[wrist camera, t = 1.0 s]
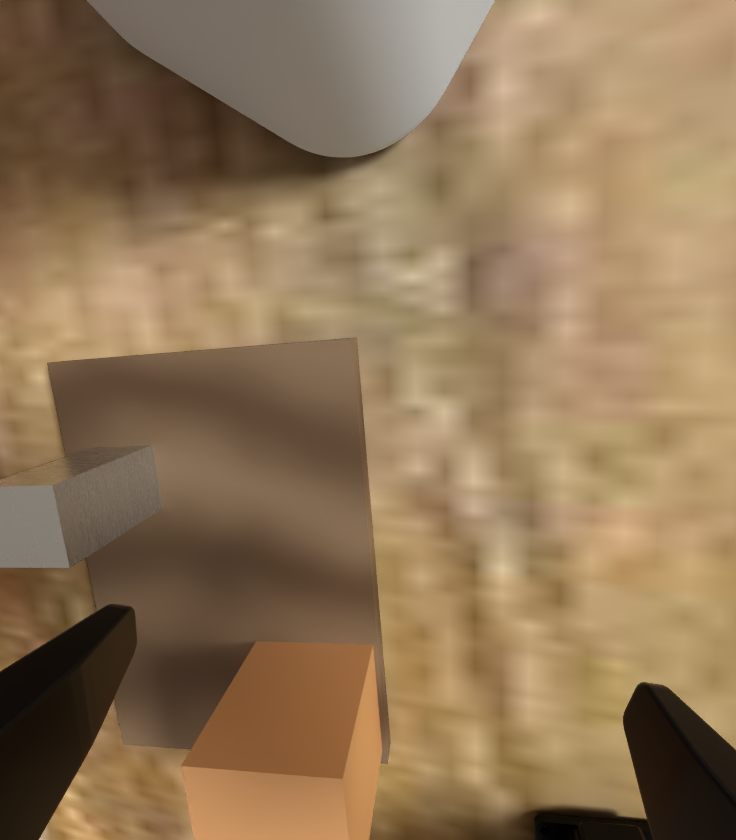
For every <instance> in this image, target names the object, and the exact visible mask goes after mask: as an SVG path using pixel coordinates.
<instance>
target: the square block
mask: <svg viewBox="0 0 736 840" xmlns="http://www.w3.org/2000/svg"><path fill="white" fill-rule="evenodd" d="M381 757H382V741H381V730H380V718H379V707H378V695H377V684H376V672H375V661H374V649H373V645H360V644H328V643H295V642H263V641H256V642H255V644H254V646H253V647H252V649H251V651H250V652H249V654H248V656H247V657H246V659H245V661H244V662H243V664H242V666H241V667H240V669H239V671H238V672H237V674H236V676H235V677H234V679H233V681H232V682H231V684H230V686H229V687H228V689H227V691H226V692H225V694H224V696H223V697H222V699H221V701H220V702H219V704H218V706H217V707H216V709H215V711H214V712H213V714H212V716H211V717H210V719H209V720H208V722H207V724H206V725H205V727H204V729H203V730H202V732H201V734H200V735H199V737H198V739H197V740H196V742H195V744H194V745H193V747H192V749H191V750H190V752H189V754H188V755H187V757H186V759H185V760H184V762H183V764H182V765H181V769H182V774H183V780H184V786H185V791H186V797H187V803H188V808H189V814H190V820H191V825H192V831H193V837H194V840H369V837H370V831H371V824H372V817H373V810H374V804H375V797H376V790H377V784H378V777H379V770H380V763H381Z"/></svg>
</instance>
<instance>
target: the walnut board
mask: <svg viewBox="0 0 736 840" xmlns="http://www.w3.org/2000/svg"><path fill="white" fill-rule="evenodd" d="M47 365H48V370H49V375H50V380H51V385H52V390H53V395H54V400H55V405H56V410H57V415H58V420H59V425H60V430H61V435H62V440H63V445H64V450H65V455H66V457H67V456H70V455H73V454H76V453H79V452H82V451H85V450H87V449H90V448H96V447H119V446H141V445H152V448H153V454H154V460H155V466H156V472H157V478H158V484H159V490H160V496H161V502H162V509H161V510H159V511H158V512H156V513H154V514H153V515H151V516H150V517H148V518H147V519H145V520H144V521H142V522H140V523H139V524H137V525H136V526H134V527H133V528H131V529H129V530H128V531H126V532H125V533H123V534H122V535H120V536H119V537H117V538H115V539H114V540H112V541H111V542H109V543H108V544H106V545H105V546H103V547H101V548H100V549H98V550H97V551H95V552H94V553H92V554H90V555H89V556H87V557H86V560H87V565H88V570H89V575H90V580H91V585H92V590H93V595H94V600H95V605H96V610H97V611H98V610H99V609H101V608H103V607H104V606H106V605H109V604H120V605H127V606H131V607H133V609H134V610H135V617H136V630H137V646H136V650H135V653H134V655H133V658H132V660H131V662H130V664H129V666H128V669H127V671H126V673H125V675H124V677H123V680H122V682H121V684H120V686H119V688H118V691H117V693H116V695H115V697H114V700H115V705H116V710H117V715H118V720H119V725H120V730H121V735H122V740H123V744H125V745H139V746H152V747H166V748H180V749H192V747H193V745H194V744H195V742H196V740H197V739H198V737H199V735H200V734H201V732H202V730H203V729H204V727H205V725H206V724H207V722H208V720H209V719H210V717H211V716H212V714H213V712H214V711H215V709H216V707H217V706H218V704H219V702H220V701H221V699H222V697H223V696H224V694H225V692H226V691H227V689H228V687H229V686H230V684H231V682H232V681H233V679H234V677H235V676H236V674H237V672H238V671H239V669H240V667H241V666H242V664H243V662H244V661H245V659H246V657H247V656H248V654H249V652H250V651H251V649H252V647H253V646H254V644H255V642H256V641H263V642H295V643H328V644H360V645H373V649H374V661H375V672H376V684H377V695H378V707H379V718H380V730H381V741H382V757H381V763H383V764H388V757H389V750H390V731H389V719H388V707H387V695H386V683H385V671H384V659H383V647H382V635H381V623H380V611H379V599H378V587H377V575H376V563H375V551H374V539H373V527H372V515H371V503H370V491H369V479H368V467H367V455H366V443H365V431H364V419H363V407H362V395H361V384H360V372H359V360H358V348H357V338H346V339H334V340H321V341H309V342H297V343H284V344H272V345H259V346H247V347H234V348H222V349H210V350H197V351H185V352H172V353H160V354H147V355H135V356H123V357H110V358H98V359H85V360H73V361H61V362H50V363H47Z"/></svg>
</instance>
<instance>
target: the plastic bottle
mask: <svg viewBox="0 0 736 840" xmlns="http://www.w3.org/2000/svg"><path fill="white" fill-rule="evenodd" d="M87 1H88V3H89V4H90V5H91V6H92V7H93V8H94V9H95V10H96V11H97V12H98V13H99V14H100V15H101V16H102V17H103V18H104V19H105V20H106V21H107V22H108V23H109V24H110V26H111V27H112V28H113V29H114V30H115V31H116V32H117V33H118V34H119V35H120V36H121V37H122V38H123V39H124V40H126V41H127V42H128V43H129V44H130V45H132V46H133V47H134V48H136V49H137V50H139V51H140V52H142V53H143V54H145V55H146V56H148V57H150V58H151V59H153V60H155V61H156V62H158V63H160V64H161V65H163V66H164V67H166V68H168V69H169V70H171V71H173V72H174V73H176V74H178V75H179V76H181V77H183V78H184V79H186V80H187V81H189V82H191V83H192V84H194V85H196V86H197V87H199V88H201V89H202V90H204V91H206V92H207V93H209V94H210V95H212V96H214V97H215V98H217V99H219V100H220V101H222V102H224V103H225V104H227V105H229V106H230V107H232V108H234V109H235V110H237V111H238V112H240V113H242V114H243V115H245V116H247V117H248V118H250V119H252V120H253V121H255V122H257V123H258V124H260V125H261V126H263V127H265V128H266V129H268V130H270V131H271V132H273V133H275V134H276V135H278V136H280V137H281V138H283V139H284V140H286V141H288V142H289V143H291V144H293V145H295V146H297V147H299V148H301V149H304V150H306V151H308V152H311V153H315V154H318V155H322V156H328V157H340V158H345V157H357V156H363V155H367V154H370V153H374V152H377V151H379V150H382V149H384V148H386V147H388V146H390V145H392V144H394V143H396V142H397V141H399V140H401V139H402V138H404V137H405V136H406V135H408V134H409V133H410V132H412V131H413V130H414V129H415V128H416V127H417V126H418V125H419V124H420V123H422V122H423V121H424V119H425V118H426V117H427V116H428V115H429V114H430V113H431V111H432V110H433V109H434V107H435V106H436V105H437V103H438V102H439V100H440V99H441V97H442V95H443V94H444V92H445V90H446V89H447V87H448V85H449V83H450V81H451V79H452V78H453V76H454V74H455V72H456V70H457V69H458V67H459V65H460V63H461V61H462V60H463V58H464V56H465V54H466V52H467V50H468V49H469V47H470V45H471V43H472V41H473V40H474V38H475V36H476V34H477V32H478V30H479V29H480V27H481V25H482V23H483V21H484V20H485V18H486V16H487V14H488V12H489V11H490V9H491V7H492V5H493V3H494V1H495V0H87Z"/></svg>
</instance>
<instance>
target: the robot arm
mask: <svg viewBox="0 0 736 840" xmlns="http://www.w3.org/2000/svg"><path fill="white" fill-rule="evenodd" d="M136 646H137V630H136V617H135V610H134V609H133V607H131V606H127V605H120V604H109V605H106V606H104V607H103V608H101V609H99V610H98V611H96V612H95V613H93V614H91V615H90V616H88V617H87V618H85V619H83V620H82V621H80V622H79V623H77V624H75V625H74V626H72V627H71V628H69V629H67V630H66V631H64V632H63V633H61V634H59V635H58V636H56V637H55V638H53V639H51V640H50V641H48V642H47V643H45V644H43V645H42V646H40V647H39V648H37V649H35V650H34V651H32V652H31V653H29V654H28V655H26V656H24V657H23V658H21V659H20V660H18V661H16V662H15V663H13V664H12V665H10V666H8V667H7V668H5V669H4V670H2V671H0V840H39V838H40V837H41V835H42V833H43V831H44V830H45V828H46V826H47V824H48V823H49V821H50V819H51V817H52V816H53V814H54V812H55V810H56V809H57V807H58V805H59V803H60V802H61V800H62V798H63V796H64V795H65V793H66V791H67V789H68V788H69V786H70V784H71V782H72V781H73V779H74V777H75V775H76V774H77V772H78V770H79V768H80V767H81V765H82V763H83V761H84V759H85V758H86V756H87V754H88V752H89V750H90V748H91V747H92V745H93V743H94V741H95V739H96V736H97V734H98V732H99V730H100V728H101V726H102V724H103V721H104V719H105V717H106V715H107V713H108V710H109V708H110V706H111V704H112V702H113V699H114V697H115V695H116V693H117V691H118V688H119V686H120V684H121V682H122V680H123V677H124V675H125V673H126V671H127V669H128V666H129V664H130V662H131V660H132V658H133V655H134V653H135V650H136ZM623 725H624V731H625V735H626V738H627V742H628V746H629V750H630V754H631V758H632V762H633V766H634V770H635V774H636V778H637V782H638V786H639V790H640V793H641V797H642V801H643V805H644V809H645V813H646V817H647V820H648V823H643V822H632V821H620V820H609V819H597V818H586V817H574V816H563V815H551V814H539V815H537V816H536V817H535V818H534V821H533V823H534V840H736V750H735V749H734V748H733V747H732V746H731V745H730V744H729V743H728V742H727V741H726V740H724V739H723V738H722V737H721V736H720V735H719V734H718V733H717V732H716V731H715V730H714V729H712V728H711V727H710V726H709V725H708V724H707V723H706V722H705V721H704V720H703V719H702V718H701V717H699V716H698V715H697V714H696V713H695V712H694V711H693V710H692V709H691V708H690V707H689V706H688V705H686V704H685V703H684V702H683V701H682V700H681V699H680V698H679V697H678V696H677V695H676V694H674V693H673V692H672V691H671V690H670V689H669V688H667V687H666V686H663V685H659V684H653V683H646V682H642V683H640V684H638V685H637V687H636V689H635V691H634V693H633V695H632V697H631V699H630V701H629V703H628V705H627V707H626V709H625V712H624V716H623ZM545 826H546V827H545Z"/></svg>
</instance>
